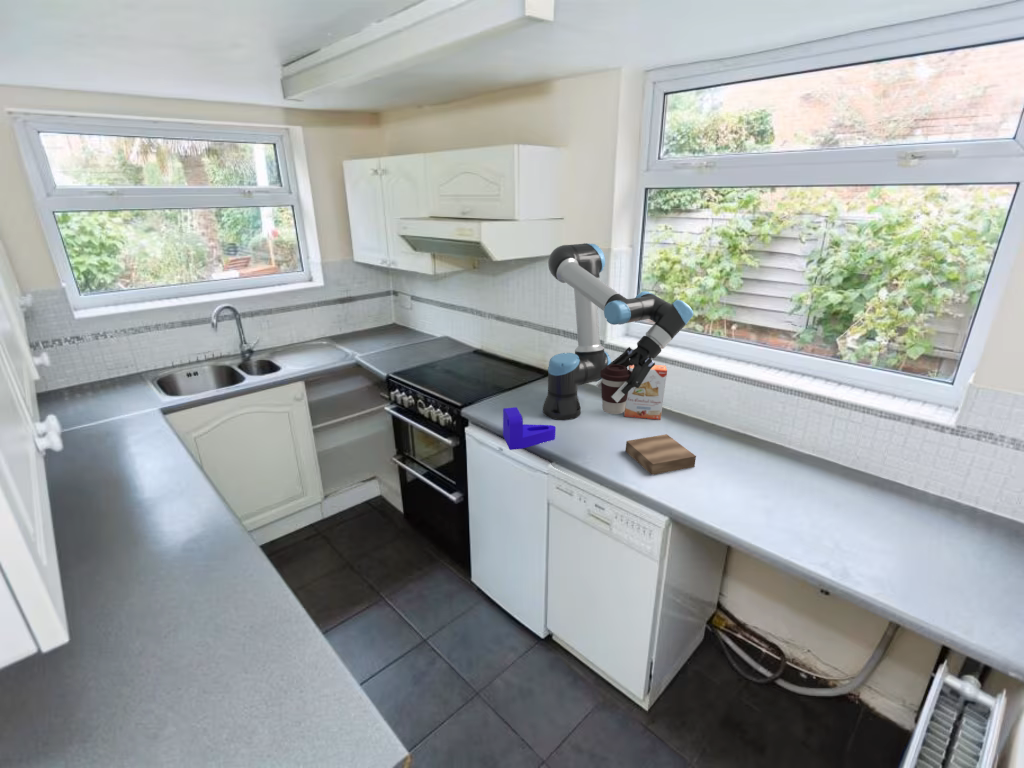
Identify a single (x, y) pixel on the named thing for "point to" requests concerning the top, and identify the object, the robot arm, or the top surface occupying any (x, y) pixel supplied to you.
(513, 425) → the bracket
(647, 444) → the cup stand
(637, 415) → the cracker box
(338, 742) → the top surface
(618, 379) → the coffee cup
